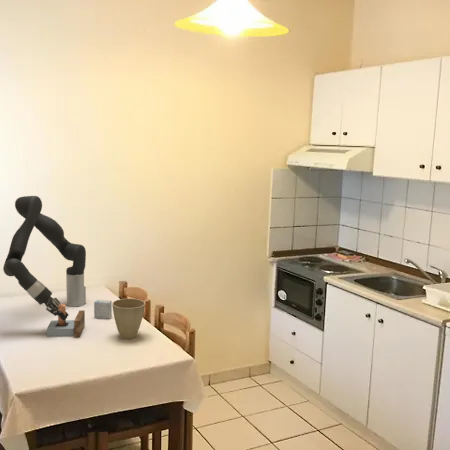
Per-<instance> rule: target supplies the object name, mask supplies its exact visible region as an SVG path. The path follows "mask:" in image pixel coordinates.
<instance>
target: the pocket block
mask: <svg viewBox="0 0 450 450" xmlns="http://www.w3.org/2000/svg"><path fill="white" fill-rule="evenodd" d="M74 320H75V319H74ZM74 320H73V319H68V320H67V319H66V326H60V327H58V319H57V320H50V322H49V323H48V326H47V328H46V338H47V337H48V338H50V337H52V338H53V337H56V338H57V337H60V338H61V337H74Z"/></svg>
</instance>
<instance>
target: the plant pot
mask: <svg viewBox="0 0 450 450" xmlns="http://www.w3.org/2000/svg"><path fill="white" fill-rule="evenodd" d="M145 306H146V302H145V301H144V300H142V299H138V298H129V297H128V298H121V299H120V298H119V299H116V300H114V301H113V302H112V311H113V312H112V314H113V316H114V317H113V318H114V322H115V324H116V325H115V326H116V329H117V332H118V334H119V337H120V338H122V339H125V340H129V339H134V338H136V337H137V335H138V333H139V330H140V328H141V327H140V326H141V323H142V320H143V317H144V313H145Z"/></svg>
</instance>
